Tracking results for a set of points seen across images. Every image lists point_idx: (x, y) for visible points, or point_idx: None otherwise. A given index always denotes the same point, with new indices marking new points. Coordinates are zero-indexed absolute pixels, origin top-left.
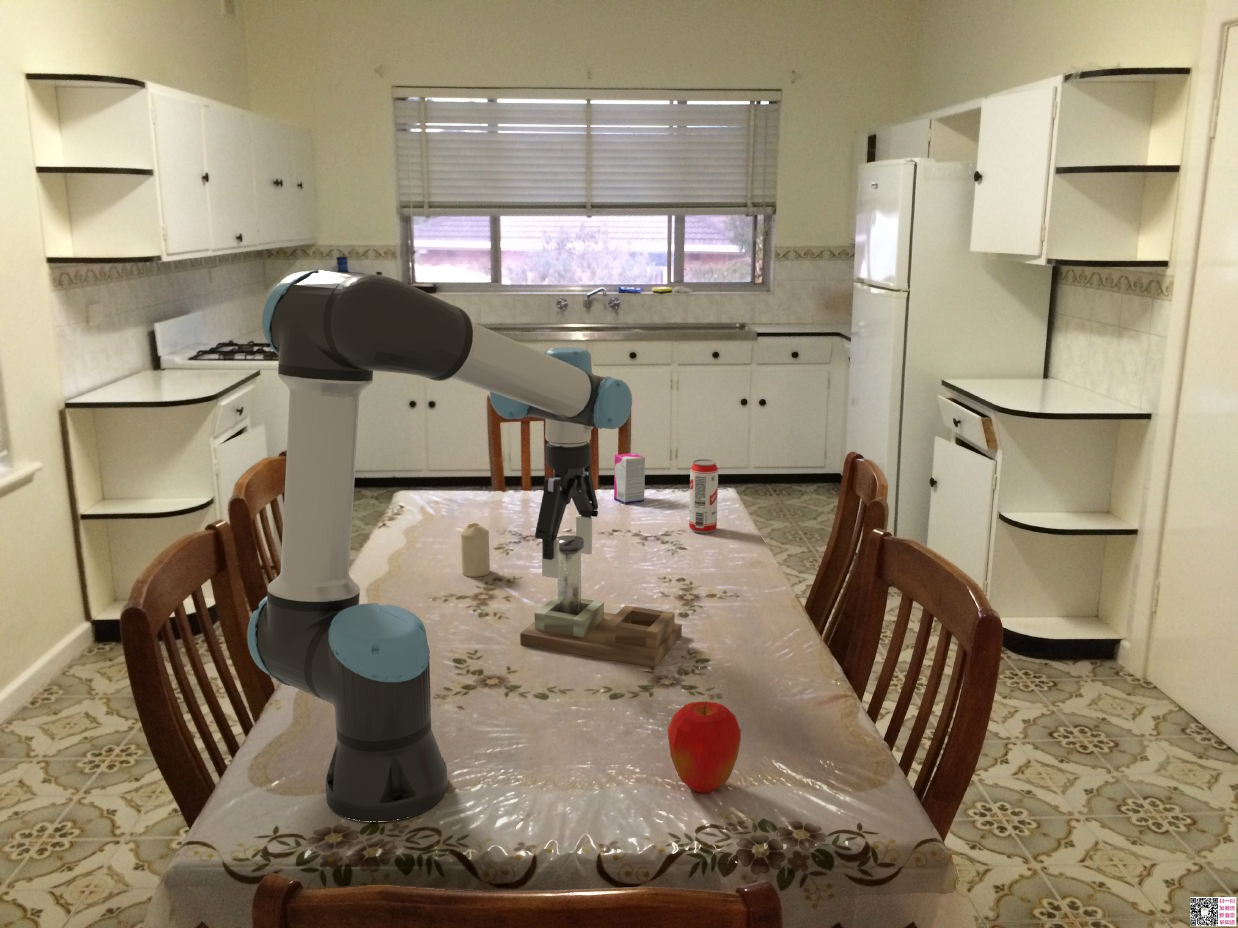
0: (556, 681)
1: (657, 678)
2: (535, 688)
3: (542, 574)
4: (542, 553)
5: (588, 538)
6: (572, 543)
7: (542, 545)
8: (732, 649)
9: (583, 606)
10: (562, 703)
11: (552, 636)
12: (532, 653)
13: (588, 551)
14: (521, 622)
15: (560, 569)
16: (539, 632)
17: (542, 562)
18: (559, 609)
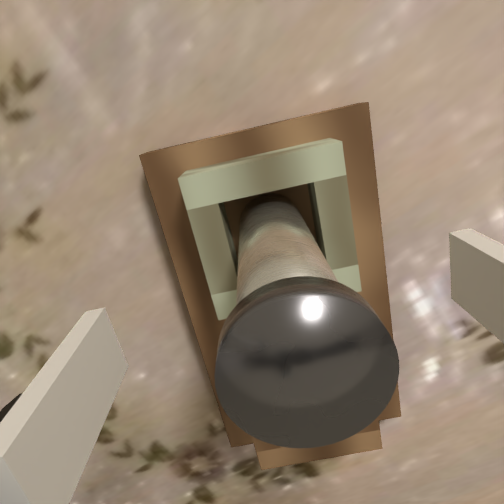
0: (64, 332)
1: (199, 450)
2: (12, 319)
3: (83, 316)
4: (33, 381)
5: (501, 331)
6: (260, 426)
7: (2, 421)
8: (376, 483)
9: (322, 247)
10: (9, 387)
11: (178, 237)
12: (128, 210)
13: (458, 297)
14: (262, 51)
15: (237, 288)
16: (177, 195)
17: (57, 350)
18: (241, 226)
